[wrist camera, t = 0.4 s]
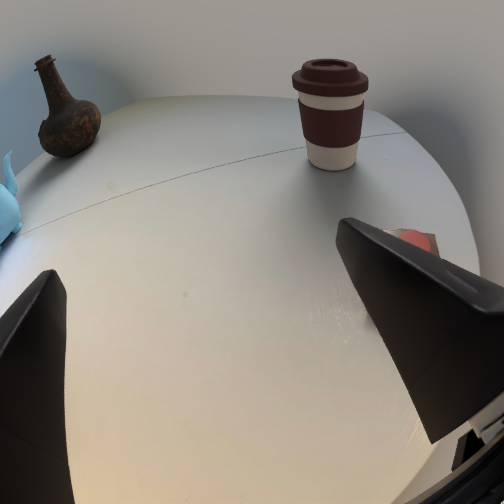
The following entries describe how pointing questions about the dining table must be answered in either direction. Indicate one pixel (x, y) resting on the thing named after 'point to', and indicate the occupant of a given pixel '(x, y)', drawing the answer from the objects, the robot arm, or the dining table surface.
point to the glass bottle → (65, 115)
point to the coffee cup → (331, 111)
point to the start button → (416, 239)
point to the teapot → (9, 203)
